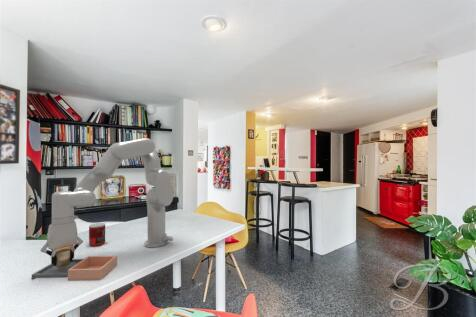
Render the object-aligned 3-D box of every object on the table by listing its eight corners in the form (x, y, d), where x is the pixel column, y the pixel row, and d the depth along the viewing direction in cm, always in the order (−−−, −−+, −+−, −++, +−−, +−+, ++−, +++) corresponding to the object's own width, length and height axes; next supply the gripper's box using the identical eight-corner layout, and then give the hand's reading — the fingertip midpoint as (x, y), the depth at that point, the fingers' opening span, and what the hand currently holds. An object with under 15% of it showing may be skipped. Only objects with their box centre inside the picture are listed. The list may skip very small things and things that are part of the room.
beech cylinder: (72, 262, 99) (72, 248, 99) (64, 267, 94) (64, 253, 94) (61, 262, 99) (61, 248, 99) (52, 267, 94) (52, 253, 94)
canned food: (97, 247, 122) (97, 227, 122) (85, 246, 124) (85, 226, 124) (108, 242, 130) (108, 223, 130) (96, 241, 131) (96, 222, 131)
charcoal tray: (89, 262, 104) (89, 258, 104) (67, 278, 90) (67, 274, 90) (58, 263, 104) (58, 259, 104) (31, 279, 90) (31, 274, 90)
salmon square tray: (117, 265, 101) (117, 255, 101) (100, 281, 88) (100, 269, 88) (88, 266, 100) (88, 256, 100) (67, 281, 88) (67, 270, 88)
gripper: (84, 215, 106) (84, 254, 106) (35, 222, 93) (35, 266, 93) (88, 218, 101) (88, 259, 101) (37, 226, 88) (37, 273, 88)
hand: (62, 262), depth 97 cm, fingers closed on beech cylinder, 4 cm apart
